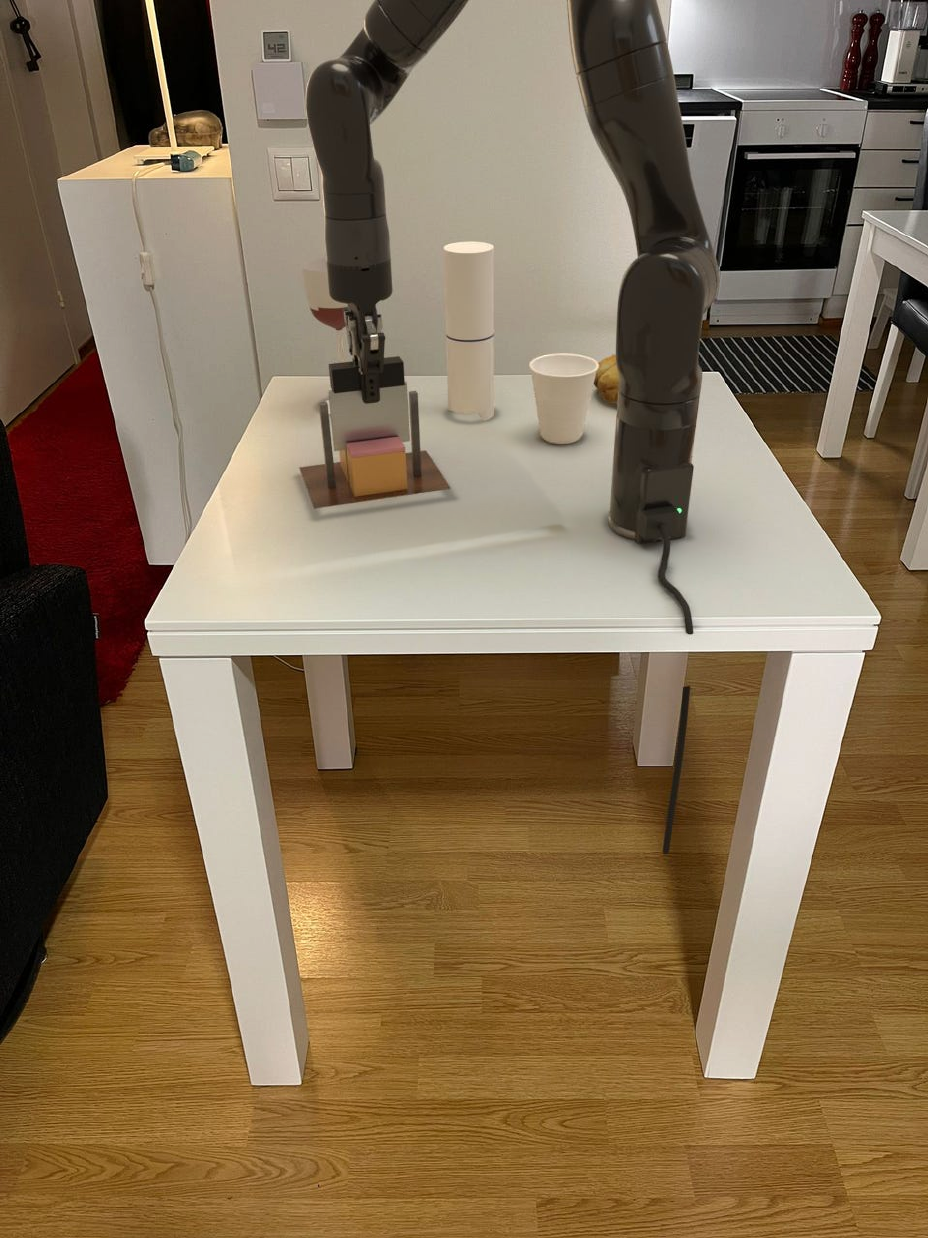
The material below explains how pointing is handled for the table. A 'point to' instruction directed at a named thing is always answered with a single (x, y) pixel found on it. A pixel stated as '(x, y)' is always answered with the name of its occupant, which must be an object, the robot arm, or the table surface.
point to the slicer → (334, 488)
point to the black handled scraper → (370, 419)
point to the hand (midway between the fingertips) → (368, 397)
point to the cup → (562, 394)
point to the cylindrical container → (470, 327)
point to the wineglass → (323, 300)
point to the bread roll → (608, 379)
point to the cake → (375, 466)
